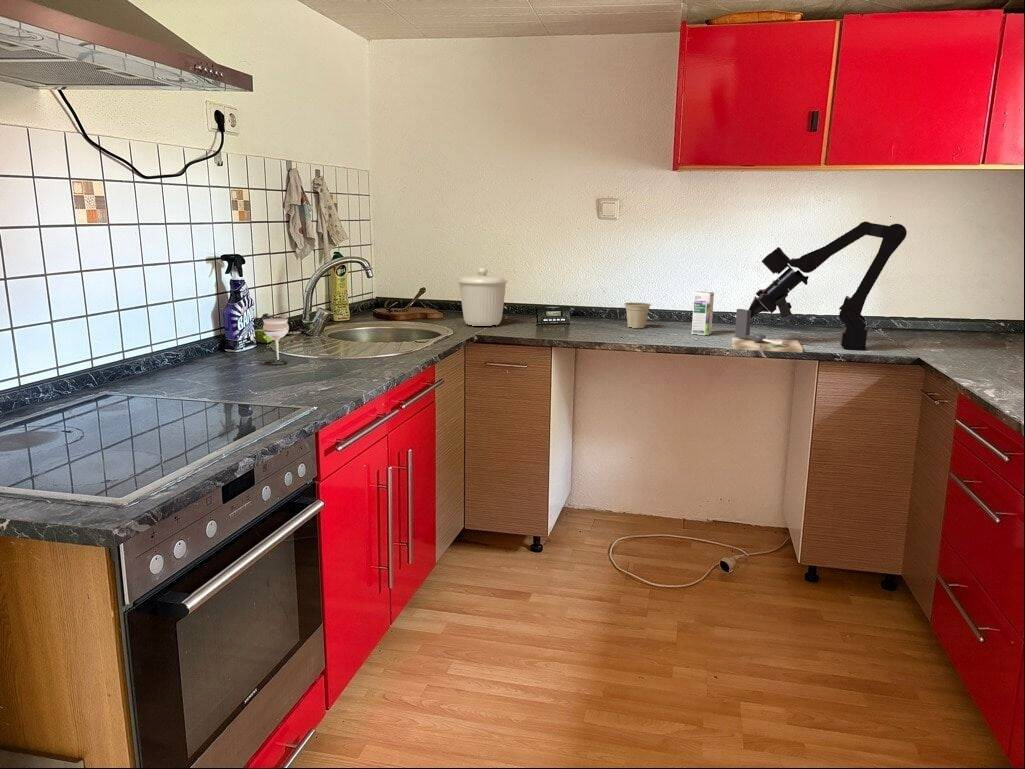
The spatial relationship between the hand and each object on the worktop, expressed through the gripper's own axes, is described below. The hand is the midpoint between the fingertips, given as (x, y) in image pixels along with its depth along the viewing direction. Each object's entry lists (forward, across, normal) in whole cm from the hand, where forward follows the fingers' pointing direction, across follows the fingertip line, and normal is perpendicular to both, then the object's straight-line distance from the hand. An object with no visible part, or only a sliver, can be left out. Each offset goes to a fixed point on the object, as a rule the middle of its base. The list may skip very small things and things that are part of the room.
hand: (745, 318), depth 248 cm
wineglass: (+92, -74, +84) cm, 145 cm away
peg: (+1, -7, -7) cm, 10 cm away
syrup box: (+15, +12, +4) cm, 20 cm away
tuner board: (+1, -7, -10) cm, 12 cm away
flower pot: (+31, +21, +21) cm, 43 cm away
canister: (+69, +10, +60) cm, 93 cm away
